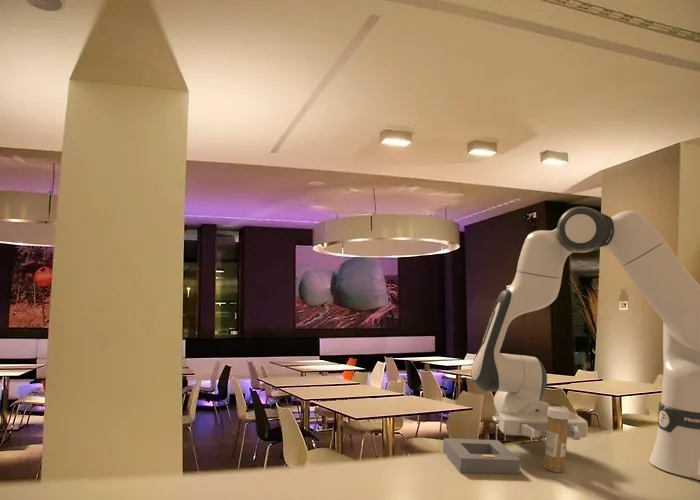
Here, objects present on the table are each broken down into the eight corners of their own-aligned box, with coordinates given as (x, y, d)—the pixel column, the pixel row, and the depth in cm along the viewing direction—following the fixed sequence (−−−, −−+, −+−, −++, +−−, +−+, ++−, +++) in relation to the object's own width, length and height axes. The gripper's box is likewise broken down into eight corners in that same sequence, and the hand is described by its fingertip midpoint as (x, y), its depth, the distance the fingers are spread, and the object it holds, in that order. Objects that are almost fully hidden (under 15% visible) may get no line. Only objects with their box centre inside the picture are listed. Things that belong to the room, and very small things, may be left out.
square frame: (496, 452, 141) (497, 439, 141) (519, 474, 128) (520, 459, 128) (442, 451, 139) (443, 437, 139) (459, 472, 126) (461, 457, 126)
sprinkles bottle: (569, 473, 130) (573, 411, 130) (549, 472, 130) (553, 410, 130) (558, 465, 135) (563, 405, 135) (539, 465, 134) (544, 405, 134)
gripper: (490, 402, 145) (513, 419, 131) (571, 406, 147) (601, 422, 133) (488, 429, 145) (510, 448, 131) (569, 431, 147) (599, 451, 133)
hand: (557, 435), depth 132 cm, fingers open, 8 cm apart
